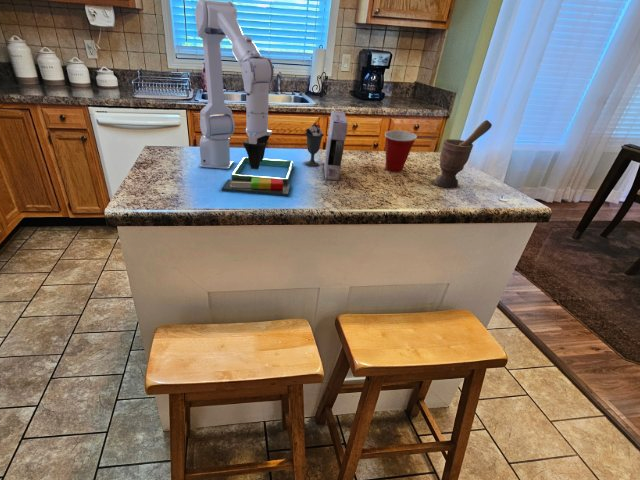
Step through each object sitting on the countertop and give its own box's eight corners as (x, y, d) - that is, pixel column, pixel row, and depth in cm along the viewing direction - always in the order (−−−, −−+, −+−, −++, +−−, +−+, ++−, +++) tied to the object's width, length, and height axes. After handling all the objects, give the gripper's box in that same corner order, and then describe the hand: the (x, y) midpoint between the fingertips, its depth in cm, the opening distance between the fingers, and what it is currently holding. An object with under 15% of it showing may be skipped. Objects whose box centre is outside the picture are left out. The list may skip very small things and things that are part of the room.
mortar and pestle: (461, 180, 129) (481, 116, 117) (473, 189, 122) (496, 121, 110) (428, 180, 128) (446, 114, 116) (439, 188, 121) (459, 120, 109)
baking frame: (231, 181, 117) (231, 174, 115) (243, 163, 133) (243, 157, 132) (287, 185, 116) (287, 179, 115) (292, 166, 132) (293, 161, 131)
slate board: (221, 191, 109) (221, 188, 109) (228, 182, 116) (227, 179, 115) (287, 196, 108) (287, 193, 108) (290, 187, 115) (290, 184, 114)
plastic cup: (375, 171, 133) (382, 134, 126) (381, 163, 141) (387, 128, 134) (406, 176, 130) (415, 139, 123) (411, 168, 138) (419, 133, 131)
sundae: (321, 162, 138) (325, 117, 130) (320, 167, 133) (325, 121, 124) (303, 160, 139) (306, 115, 130) (302, 166, 133) (305, 119, 125)
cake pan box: (340, 182, 121) (348, 121, 111) (324, 181, 121) (331, 120, 111) (337, 164, 137) (344, 110, 126) (323, 163, 137) (329, 109, 127)
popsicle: (283, 190, 110) (283, 183, 109) (230, 188, 109) (230, 182, 108) (282, 184, 114) (282, 177, 113) (232, 182, 113) (232, 176, 112)
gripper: (268, 118, 94) (267, 173, 102) (275, 108, 106) (274, 158, 114) (240, 116, 94) (241, 171, 102) (250, 106, 106) (250, 156, 114)
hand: (256, 164), depth 108 cm, fingers open, 7 cm apart
